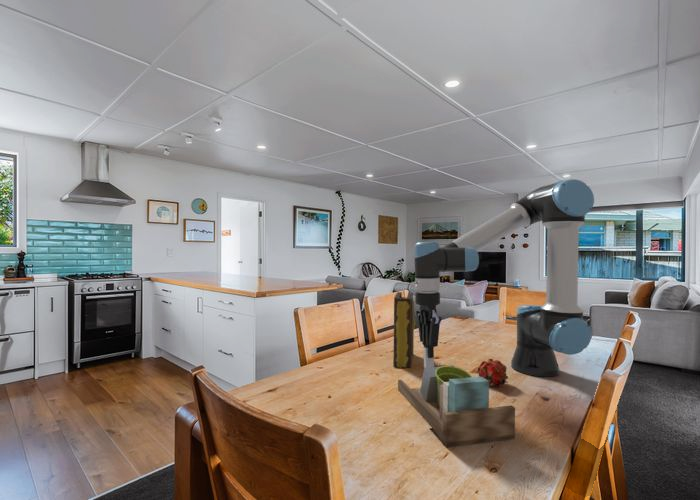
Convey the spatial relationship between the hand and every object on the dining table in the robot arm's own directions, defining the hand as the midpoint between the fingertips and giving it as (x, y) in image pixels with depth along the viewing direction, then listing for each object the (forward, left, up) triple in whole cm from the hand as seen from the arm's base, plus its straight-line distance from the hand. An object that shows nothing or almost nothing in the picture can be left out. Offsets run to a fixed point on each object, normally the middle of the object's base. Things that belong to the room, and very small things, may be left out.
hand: (429, 367), depth 109 cm
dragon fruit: (-20, +3, -6) cm, 21 cm away
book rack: (+3, +18, -6) cm, 19 cm away
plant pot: (+2, +17, -5) cm, 18 cm away
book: (-2, -27, -6) cm, 28 cm away
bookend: (+2, +10, -4) cm, 11 cm away
